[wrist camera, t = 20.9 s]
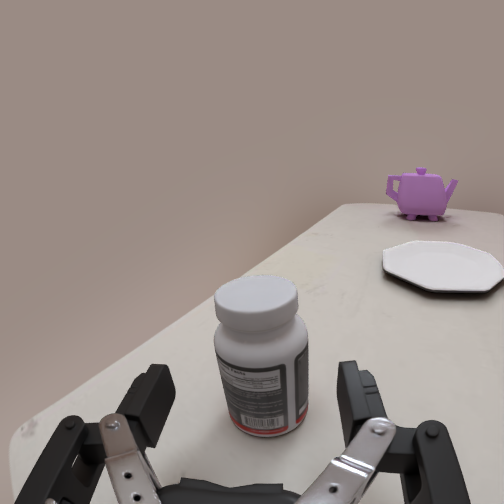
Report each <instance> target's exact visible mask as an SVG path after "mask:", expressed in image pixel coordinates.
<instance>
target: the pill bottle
mask: <svg viewBox="0 0 504 504" xmlns="http://www.w3.org/2000/svg"><path fill="white" fill-rule="evenodd" d="M214 302H215V311H216V316H217V318H218V320H219V321H220V322H221V323H220V324H219V325H218V327H217V329H216V331H215V335H214V346H215V352H216V357H217V361H218V366H219V370H220V375H221V379H222V384H223V388H224V393H225V397H226V401H227V405H228V410H229V414H230V417H231V419H232V421H233V422H234V424H235V425H236V426H237V427H238V428H239V429H241V430H242V431H244V432H246V433H248V434H251V435H254V436H259V437H273V436H278V435H282V434H285V433H287V432H289V431H291V430H293V429H294V428H295V427H297V426H298V425H299V424H300V423H301V422H302V420H303V419H304V417H305V416H306V413H307V410H308V331H307V327H306V325H305V323H304V321H303V320H302V318H301V317H300V316H299V315H297V314H296V313H297V310H298V292H297V288H296V286H295V284H294V283H293V282H291V281H290V280H288V279H286V278H283V277H278V276H272V275H255V276H248V277H242V278H238V279H235V280H232V281H230V282H228V283H226V284H224V285H222V286H221V287H220V288H219V289H218V290H217V291H216V293H215V295H214Z"/></svg>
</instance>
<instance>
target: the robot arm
mask: <svg viewBox="0 0 504 504" xmlns="http://www.w3.org/2000/svg"><path fill="white" fill-rule="evenodd" d="M175 394H176V391H175V386H174V383H173V380H172V377H171V374H170V370H169V368H168V366H167V365H164V364H151V365H150V367H149V368H148V370H147V372H146V373H141V374H140V375H139V376H138V377H137V378H135V379H134V381H133V383H132V385H131V388H129V390H128V391H127V393H126V395H125V397H124V398H123V400H122V402H121V404H120V405H119V407H118V409H117V411H116V412H115V413H113V414H109V415H107V416H105V417H103V418H102V419H101V421H100V422H99V423H84V421H83V420H82V418H81V417H79V416H75V415H72V416H68V417H66V418H64V419H63V420H62V421H61V422H60V423H59V425H58V427H57V428H56V430H55V431H54V433H53V435H52V436H51V438H50V440H49V442H48V443H47V445H46V447H45V448H44V450H43V452H42V454H41V455H40V457H39V459H38V461H37V462H36V464H35V466H34V468H33V469H32V471H31V473H30V475H29V477H28V478H27V480H26V482H25V484H24V486H23V488H22V490H21V492H20V493H19V495H18V497H17V499H16V501H15V503H14V504H89V503H90V501H91V498H92V496H93V493H94V491H95V488H96V486H97V483H98V481H99V478H100V476H101V473H102V471H103V469H104V466H105V464H106V468H107V471H108V474H109V477H110V480H111V483H112V486H113V489H114V492H115V495H116V497H117V500H118V503H119V504H358V503H359V501H360V500H361V498H362V497H363V496H364V494H365V493H366V491H367V490H368V488H369V487H370V485H371V484H372V482H373V481H374V479H375V478H376V476H377V475H378V473H379V472H386V473H400V478H401V484H402V490H403V496H404V503H405V504H471V503H470V499H469V495H468V492H467V488H466V485H465V481H464V478H463V475H462V471H461V468H460V465H459V462H458V459H457V456H456V453H455V450H454V447H453V444H452V441H451V439H450V436H449V433H448V430H447V428H446V427H445V425H444V424H442V423H441V422H439V421H435V420H428V421H425V422H423V423H421V424H420V425H419V426H418V427H417V428H404V427H399V426H396V425H395V424H394V423H393V422H392V421H391V420H390V419H388V417H387V415H386V412H385V409H384V406H383V402H382V399H381V396H380V393H379V390H378V387H377V384H376V381H375V379H374V376H373V375H372V374H371V373H370V372H369V371H368V370H362V371H359V370H358V366H357V363H356V361H355V360H354V361H344V362H339V367H338V378H337V400H338V405H339V411H340V417H341V423H342V429H343V435H344V441H345V448H346V449H345V451H344V452H343V453H342V455H341V456H340V457H336V458H334V459H333V460H332V461H331V462H330V464H329V465H328V466H327V467H326V468H325V470H324V471H323V472H322V473H321V474H320V475H319V477H318V478H317V479H316V480H315V481H314V482H313V484H312V485H311V486H310V487H309V488H308V489H307V490H306V491H305V492H304V493H303V495H302V496H301V495H299V494H297V493H294V492H291V491H287V490H283V484H252V485H246V486H240V487H233V488H228V487H224V486H221V485H218V484H215V483H211V482H208V481H205V480H197V479H189V478H182V477H181V480H180V484H173V485H168V486H165V487H162V486H161V484H160V482H159V480H158V479H157V476H156V474H155V472H154V470H153V468H152V466H151V464H150V462H149V460H148V457H147V455H146V453H145V450H146V447H151V448H155V447H156V445H157V442H158V440H159V437H160V435H161V432H162V430H163V427H164V425H165V422H166V420H167V417H168V415H169V412H170V410H171V407H172V405H173V402H174V400H175ZM77 455H78V456H77ZM76 456H77V458H76ZM75 458H76V460H75ZM74 460H75V462H74ZM73 462H74V464H73ZM72 464H73V466H72Z"/></svg>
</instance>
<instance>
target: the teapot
mask: <svg viewBox="0 0 504 504" xmlns="http://www.w3.org/2000/svg"><path fill="white" fill-rule="evenodd" d="M416 171H417V173H403V174H402V176H396V175H388V183H387V189H386V194H387V195H388V196H389V197H391V198H392V199H394V200H395V201H396V202H397V204H398V207H399V209H400V211H401V212H402V213H404V214H407V215H408V216H407V218H406V219H408V220H415V219H416V215H428V216H429V220H431V221H438V218H437V216H436V215H443V214H444V213H445V210H446V206H447V202H448V201H449V199H450V197H451V195H452V193H453V191H454V189H455V187H456V185H457V183H458V181H457V180H454V179H452V180H451V182H450V183H449V184H448V186H447V187H446V189H445V188H444V184H443V181H442V178H441V177H440V176H439V175H436V174H425V172H426V168H416ZM393 180H398V181H400V183H399V188H398V193H397V192H395V191H394V190H393Z"/></svg>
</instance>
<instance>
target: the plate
mask: <svg viewBox="0 0 504 504" xmlns="http://www.w3.org/2000/svg"><path fill="white" fill-rule="evenodd" d="M383 270H384V271H385V272H386V273H388V274H390V275H392V276H394V277H397V278H399V279H401V280H404V281H406V282H408V283H410V284H413V285H415V286H417V287H419V288H422V289H424V290H426V291H431V292H450V293H486V292H489V291H490V290H491V289H492V288H494V287H495V286H496V285H497V284H498V283H500V282H501V281H502V280H503V279H504V267H503V266H502V265H501V264H500V263H499V262H498V261H497V259H496V258H495V257H494V256H493V255H492V254H490V253H488V252H485V251H482V250H479V249H475V248H472V247H469V246H466V245H463V244H459V243H456V242H441V241H410V242H407V243H404V244H400V245H397V246H394V247H391V248H387V249H385V250H384V251H383Z"/></svg>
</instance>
